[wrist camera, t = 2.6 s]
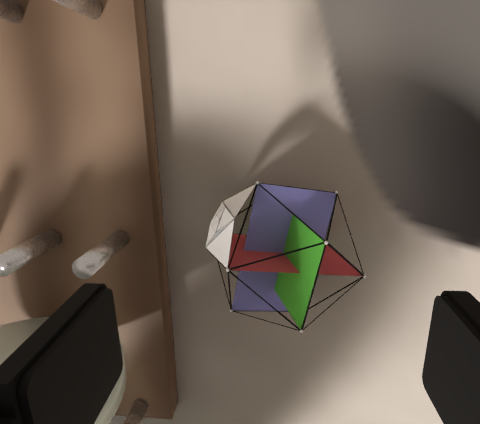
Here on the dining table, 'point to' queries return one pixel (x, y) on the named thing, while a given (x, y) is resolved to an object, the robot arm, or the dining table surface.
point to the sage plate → (14, 334)
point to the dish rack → (87, 178)
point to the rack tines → (6, 8)
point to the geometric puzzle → (278, 248)
